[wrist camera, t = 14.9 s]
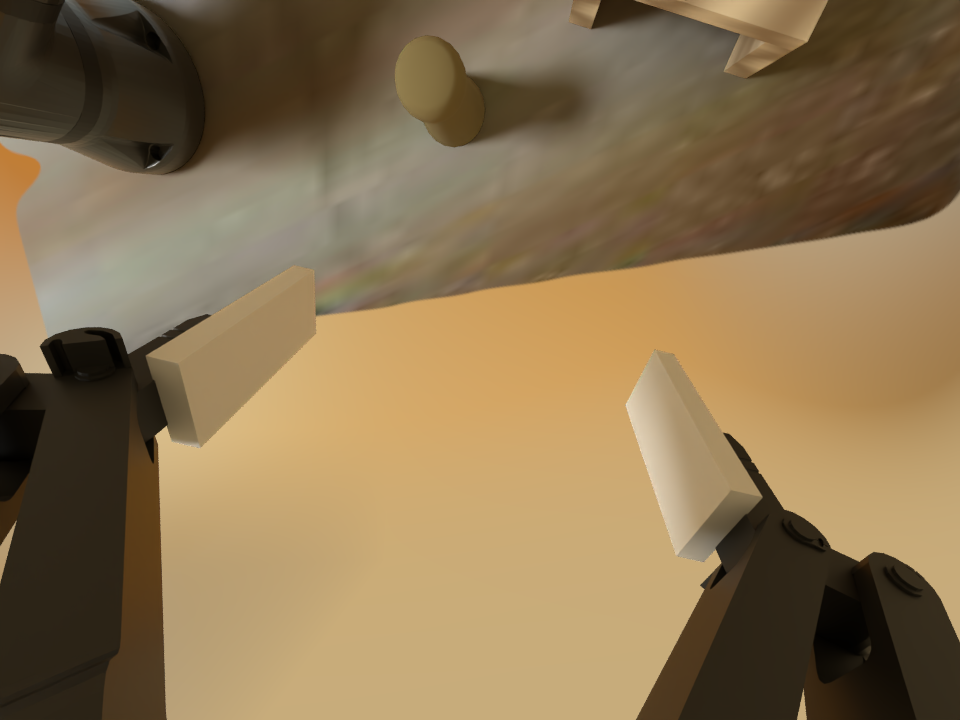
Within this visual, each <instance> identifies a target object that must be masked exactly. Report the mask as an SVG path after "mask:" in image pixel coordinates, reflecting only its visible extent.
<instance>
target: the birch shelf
mask: <svg viewBox="0 0 960 720" xmlns="http://www.w3.org/2000/svg"><path fill="white" fill-rule="evenodd" d="M635 1H639V2H642V3H645V4H648V5H651V6H654V7H657V8H660V9H664V10H667V11H670V12H673V13H676V14H679V15H682V16H685V17H689V18H692V19H695V20H698V21H701V22H704V23H707V24H710V25H713V26H717V27H720V28H723V29H726V30H729V31H732V32H735V33H738V34H740V36H739V38H738V40H737V42H736V45H735V47H734V49H733V51H732V54H731V56H730V58H729V60H728V63H727V65H726V67H725V69H724V72H727V73H730V74H733V75H736V76H739V77H742V78H745V79H746V78H748V77H749V76H751V75H753V74H754V73H756V72H758V71H759V70H761V69H763V68H764V67H766V66H768V65H769V64H771V63H773V62H774V61H776V60H778V59H779V58H781V57H783V56H784V55H786V54H788V53H789V52H791V51H793V50H794V49H796V48H798V47H800V46H801V45H803V44H805V43H806V42H808V40H809V38H810V36H811V34H812V32H813V30H814V28H815V26H816V24H817V22H818V20H819V18H820V16H821V14H822V12H823V10H824V8H825V6H826V4H827V2H828V0H635ZM600 2H601V0H573V5H572V9H571V14H570V18H569V22H570V23H574V24H577V25H580V26H583V27H586V28H589V29H591V27H592V24H593V21H594V19H595V16H596V13H597V10H598V7H599V4H600Z"/></svg>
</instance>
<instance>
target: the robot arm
mask: <svg viewBox="0 0 960 720" xmlns="http://www.w3.org/2000/svg"><path fill="white" fill-rule="evenodd" d="M203 126H204V100H203V94H202V89H201V85H200V81H199V78H198V75H197V72H196V69H195V67H194V65H193V62H192V60H191V58H190V56H189V54H188V52H187V51H186V49H185V47H184V46H183V44H182V43H181V41H180V40H179V38H178V37H177V36H176V35H175V33H174V32H173V31H172V30H171V29H170V27H169V26H168V25H167V24H166V23H165V22H164V21H163V20H162V19H160V18H159V17H158V16H157V15H156V14H154V13H153V12H152V11H150V10H149V9H147V8H145V7H144V6H142V5H140V4H138V3H136V2H134V1H132V0H0V137H8V138H16V139H24V140H32V141H41V142H48V143H55V144H60V145H62V146H64V147H66V148H69V149H71V150H73V151H76V152H78V153H80V154H83V155H85V156H87V157H90V158H92V159H94V160H96V161H99V162H101V163H103V164H106V165H108V166H110V167H113V168H116V169H119V170H122V171H126V172H132V173H142V174H165V173H169V172H172V171H174V170H176V169H178V168H180V167H181V166H183V165H184V164H185V163H186V162H187V161H188V160H189V159H190V158H191V157H192V155H193V154H194V152H195V150H196V149H197V147H198V144H199V142H200V139H201V136H202V132H203ZM315 319H316V316H315V280H314V270H312V269H308V268H303V267H299V266H295V265H294V266H292V267H291V268H289V269H287V270H286V271H284V272H282V273H281V274H279V275H277V276H276V277H274V278H272V279H271V280H269V281H268V282H266V283H264V284H263V285H261V286H259V287H258V288H256V289H254V290H253V291H251V292H249V293H248V294H246V295H245V296H243V297H241V298H240V299H238V300H236V301H235V302H233V303H231V304H230V305H228V306H227V307H225V308H223V309H222V310H220V311H218V312H217V313H215V314H213V315H208V314H206V315H203V316H199V317H196V318H192V319H189V320H187V321H185V322H183V323H182V324H180V325H178V326H176V327H175V328H174V329H173V330H169V331H168V332H166V333H164V334H163V335H162V337H157V338H156V339H154V340H152V341H150V342H149V343H147V344H145V345H144V346H142V347H140V348H138V349H137V350H135V351H133V352H131V353H130V354H127V351H126V348H125V345H124V342H123V339H122V337H121V335H120V333H119V332H117V331H115V330H113V329H108V328H101V327H87V328H79V329H73V330H68V331H65V332H61V333H58V334H55V335H53V336H52V337H50V338H48V339H46V340H45V341H44V342H43V343H42V344H41V346H40V348H41V350H42V352H43V354H44V357H45V358H46V361H47V363H48V365H49V367H50V369H51V371H52V374H41V373H24V371H23V369H22V367H21V365H20V363H19V362H18V361H17V359H16V358H15V357H12V356H9V355H6V354H0V545H1V544H2V542H3V540H4V539H5V537H6V536H7V534H8V533H9V531H10V530H11V528H12V526H13V525H14V523H15V521H16V520H17V522H16V526H15V529H14V533H13V537H12V541H11V545H10V549H9V552H8V556H7V560H6V564H5V568H4V572H3V575H2V579H1V583H0V720H167V719H166V705H165V669H164V635H163V601H162V567H161V532H160V501H159V500H160V498H159V465H158V464H159V463H158V443H157V440H156V438H155V435H156V434H157V433H158V432H160V431H161V430H162V429H163V428H164V427H165V426H167V427H168V431H169V434H170V437H171V440H172V442H175V443H179V444H184V445H188V446H193V447H197V448H201V447H202V446H203V445H204V444H205V443H206V442H207V441H208V440H209V439H210V438H211V437H212V436H213V435H214V434H215V433H216V432H217V431H218V430H219V429H220V428H221V427H222V426H223V425H224V424H225V423H226V422H227V421H228V420H229V419H230V418H231V417H232V416H233V415H234V414H235V413H236V412H237V411H238V410H239V409H240V408H241V407H242V406H243V405H244V404H245V403H246V402H247V401H248V400H249V399H250V398H251V397H252V396H253V395H254V394H255V393H256V392H257V391H258V390H259V389H261V387H263V385H265V383H267V382H268V381H269V379H271V378H272V376H274V375H275V374H276V373H277V371H279V370H280V369H281V368H282V367H283V366H284V365H285V364H286V363H287V362H288V361H289V360H290V359H291V358H292V357H293V356H294V355H295V354H296V353H297V352H298V351H299V350H300V349H301V348H302V347H303V346H304V345H305V344H306V343H307V342H308V341H309V340H310V339H311V338H312V337H313V336H314V335H315V334H316V320H315ZM626 408H627V411H628V414H629V417H630V420H631V423H632V426H633V429H634V432H635V435H636V438H637V441H638V444H639V447H640V450H641V453H642V456H643V459H644V462H645V464H646V468H647V470H648V473H649V476H650V479H651V482H652V485H653V488H654V491H655V494H656V497H657V500H658V503H659V506H660V509H661V512H662V515H663V518H664V521H665V523H666V527H667V530H668V533H669V536H670V538H671V541H672V544H673V547H674V550H675V553H676V556H678V557H683V558H687V559H692V560H696V561H701V562H704V561H705V560H706V559H707V558H708V557H709V556H710V555H711V553H713V551H714V550H715V549H716V551H717V553H718V555H719V557H720V560H721V562H722V563H721V564H720V565H719V566H718V567H717V568H716V569H715V571H714V572H713V573H712V574H711V575H710V576H709V577H708V578H707V579H706V580H705V581H704V582H703V583H702V584H701V585H700V586H702V587H703V588H704V589H705V590H704V592H703V593H702V595H701V598H700V599H699V601H698V603H697V605H696V607H695V609H694V611H693V612H692V614H691V616H690V618H689V620H688V622H687V624H686V626H685V628H684V630H683V631H682V634H681V635H680V637H679V639H678V641H677V643H676V645H675V647H674V649H673V651H672V652H671V655H670V656H669V658H668V660H667V662H666V664H665V666H664V668H663V669H662V671H661V673H660V675H659V677H658V679H657V681H656V683H655V685H654V687H653V688H652V690H651V692H650V694H649V696H648V698H647V700H646V702H645V704H644V706H643V707H642V709H641V711H640V713H639V715H638V717H637V719H636V720H797V716H798V712H799V707H800V702H801V697H802V692H803V688H804V696H805V706H806V716H807V720H960V642H959V639H958V637H957V635H956V633H955V630H954V628H953V626H952V624H951V621H950V620H949V617H948V615H947V612H946V610H945V608H944V606H943V604H942V601H941V599H940V598H939V596H938V595H937V593H936V592H935V590H934V589H933V588H932V587H931V585H929V583H928V582H927V581H926V580H925V579H924V578H923V577H922V576H921V575H920V574H919V573H918V572H915V571H914V569H913V568H911V567H910V566H908V565H906V564H904V563H903V562H901V561H899V560H897V559H896V558H894V557H891V556H889V555H886V554H884V553H877V552H873V553H871V554H870V555H868V556H867V557H866V558H864V559H863V560H862V561H860V562H858V561H856V560H854V559H852V558H850V557H848V556H846V555H843V554H841V553H839V552H837V551H835V550H833V549H831V547H830V545H829V543H828V542H827V540H826V538H825V537H824V536H823V535H822V534H821V533H820V531H818V529H817V528H816V527H815V526H813V525H812V524H811V523H809V522H808V521H807V520H805V519H804V518H802V517H801V516H799V515H797V514H795V513H793V512H790V511H787V510H784V509H783V507H782V506H781V504H780V502H779V501H778V500H777V498H776V497H775V495H774V493H773V492H772V490H771V489H770V487H769V486H768V484H767V483H766V481H765V480H764V478H763V477H762V475H761V474H759V473H758V472H759V471H758V469H757V468H756V466H755V464H754V463H752V462H751V461H752V460H751V458H750V457H749V455H748V454H747V452H746V451H745V449H744V448H743V447H742V446H741V445H740V444H739V443H738V442H737V441H736V440H735V439H734V438H733V437H732V436H731V435H730V434H727V433H723V432H722V431H721V429H720V428H719V426H718V424H717V423H716V421H715V419H714V418H713V416H712V415H711V413H710V411H709V410H708V408H707V407H706V405H705V403H704V402H703V400H702V399H701V397H700V395H699V394H698V392H697V390H696V389H695V387H694V386H693V384H692V383H691V381H690V380H689V378H688V376H687V375H686V373H685V371H684V370H683V368H682V366H681V365H680V363H679V362H678V360H677V358H676V357H675V355H674V354H671V353H667V352H663V351H658V350H654V351H653V353H652V355H651V357H650V359H649V361H648V363H647V365H646V367H645V369H644V370H643V372H642V374H641V376H640V378H639V380H638V382H637V384H636V386H635V388H634V390H633V392H632V394H631V396H630V397H629V399H628V401H627V403H626Z"/></svg>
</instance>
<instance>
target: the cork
mask: <svg viewBox="0 0 960 720" xmlns="http://www.w3.org/2000/svg"><path fill="white" fill-rule="evenodd" d="M395 84H396V89H397V94H398V96H399V98H400V100H401V102H402V104H403V106H404V107H405V108H406V110H407V111H408V112H409V113H410V114H411V115H412V116H414V117H415V118H417V119H419V120H421V121H422V122H424V124H425V126H426V128H427V130H428V132H429V134H430V135H431V136H432V137H433V138H434V139H435V140H436V141H437V142H439V143H441V144H443V145H445V146H450V147H457V146H462V145H465V144H467V143H468V142H470V141H471V140H473V139H474V137H475V136H476V135H477V134H478V133H479V131H480V129H481V126H482V124H483V122H484V115H485V106H484V98H483V96H482V94H481V92H480V89H479V88H478V86H477V85H476V84H475V83H474V82H473V81H472V79H470V78H469V77H468V76H467V75H466V71H465V67H464V65H463V62H462V60H461V58H460V56H459V53H458V52H457V51H456V50H455V49H454V48H453V46H452V45H451V44H450V43H448V42H446V41H444V40H443V39H441V38H439V37H435V36H428V35H426V36H422V37H418V38H415V39H414V40H412V41H411V42H410V43H408V44H407V45H406V46H405V48H404V49H403V50H402V52H401V53H400V55H399V58H398V61H397V64H396V66H395Z"/></svg>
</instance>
